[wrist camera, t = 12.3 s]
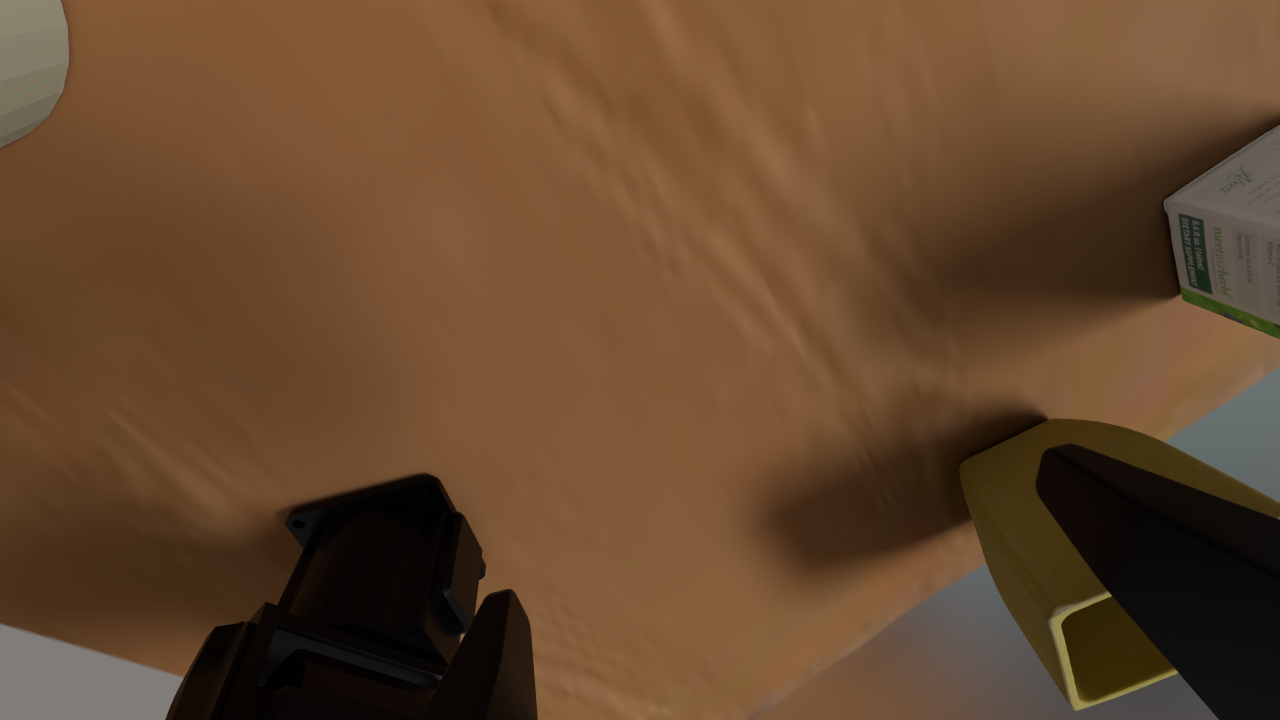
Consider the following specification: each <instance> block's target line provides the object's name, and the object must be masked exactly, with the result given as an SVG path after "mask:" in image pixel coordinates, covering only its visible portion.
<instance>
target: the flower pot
mask: <svg viewBox="0 0 1280 720" xmlns="http://www.w3.org/2000/svg"><path fill="white" fill-rule="evenodd" d="M1067 443H1072V444H1076V445H1080V446H1082V447H1085V448H1088V449H1091V450H1093V451H1096V452H1099V453H1101V454H1104V455H1107V456H1109V457H1112V458H1115V459H1118V460H1120V461H1123V462H1126V463H1128V464H1131V465H1134V466H1137V467H1139V468H1142V469H1145V470H1147V471H1150V472H1153V473H1156V474H1158V475H1161V476H1164V477H1166V478H1169V479H1172V480H1175V481H1177V482H1180V483H1183V484H1185V485H1188V486H1191V487H1194V488H1196V489H1199V490H1202V491H1204V492H1207V493H1210V494H1213V495H1215V496H1218V497H1221V498H1223V499H1226V500H1229V501H1231V502H1234V503H1237V504H1240V505H1242V506H1245V507H1248V508H1250V509H1253V510H1256V511H1259V512H1261V513H1264V514H1267V515H1269V516H1272V517H1275V518H1278V519H1280V503H1279V502H1277V501H1275V500H1274V499H1272V498H1270V497H1268V496H1266V495H1264V494H1262V493H1261V492H1259V491H1257V490H1255V489H1253V488H1251V487H1249V486H1248V485H1246V484H1244V483H1242V482H1240V481H1238V480H1236V479H1234V478H1233V477H1230V476H1229V475H1226V474H1225V473H1223V472H1221V471H1219V470H1217V469H1215V468H1213V467H1211V466H1210V465H1208V464H1206V463H1204V462H1202V461H1200V460H1198V459H1196V458H1194V457H1192V456H1190V455H1188V454H1186V453H1185V452H1183V451H1181V450H1179V449H1176V448H1175V447H1173V446H1170V445H1169V444H1167V443H1165V442H1163V441H1160V440H1158V439H1156V438H1153V437H1151V436H1149V435H1146V434H1143V433H1140V432H1137V431H1134V430H1131V429H1128V428H1124V427H1121V426H1117V425H1112V424H1107V423H1101V422H1095V421H1087V420H1076V419H1050V420H1048V421H1045V422H1043V423H1041V424H1039V425H1037V426H1035V427H1033V428H1031V429H1029V430H1027V431H1025V432H1023V433H1021V434H1019V435H1016V436H1014V437H1012V438H1010V439H1008V440H1006V441H1004V442H1002V443H1000V444H997V445H995V446H993V447H991V448H989V449H987V450H985V451H983V452H980V453H978V454H976V455H974V456H972V457H970V458H968V459H966V460H964V461H963V462H962V463H961V465H960V468H959V474H960V481H961V486H962V490H963V494H964V497H965V500H966V503H967V506H968V508H969V511H970V514H971V517H972V520H973V523H974V525H975V528H976V531H977V534H978V538H979V541H980V544H981V547H982V550H983V554H984V557H985V560H986V563H987V565H988V568H989V571H990V573H991V575H992V578H993V580H994V582H995V585H996V587H997V589H998V591H999V593H1000V595H1001V597H1002V599H1003V601H1004V603H1005V605H1006V606H1007V608H1008V610H1009V611H1010V613H1011V615H1012V616H1013V618H1014V619H1015V621H1016V623H1017V624H1018V626H1019V627H1020V629H1021V630H1022V632H1023V634H1024V635H1025V637H1026V638H1027V640H1028V641H1029V643H1030V644H1031V646H1032V647H1033V649H1034V651H1035V652H1036V653H1037V655H1038V657H1039V658H1040V660H1041V662H1042V663H1043V665H1044V666H1045V668H1046V670H1047V671H1048V673H1049V674H1050V676H1051V677H1052V679H1053V680H1054V682H1055V684H1056V685H1057V687H1058V688H1059V690H1060V692H1061V693H1062V695H1063V696H1064V698H1065V699H1066V701H1067V702H1068V704H1069V705H1070V707H1071V708H1072V709H1074V710H1076V711H1077V710H1080V709H1083V708H1086V707H1089V706H1092V705H1096V704H1098V703H1101V702H1104V701H1107V700H1110V699H1113V698H1115V697H1118V696H1121V695H1124V694H1126V693H1128V692H1131V691H1133V690H1136V689H1139V688H1141V687H1144V686H1147V685H1149V684H1152V683H1154V682H1157V681H1159V680H1162V679H1164V678H1167V677H1169V676H1172V675H1174V674H1177V673H1178V672H1177V671H1176V669H1175V668H1174V667H1173V666H1172V665H1171V664H1170V662H1169V661H1168V660H1167V659H1166V658H1165V657H1164V656H1163V654H1162V653H1161V652H1160V651H1159V650H1158V649H1157V647H1156V646H1155V645H1154V644H1153V643H1152V642H1151V641H1150V639H1149V638H1148V637H1147V636H1146V635H1145V634H1144V632H1143V631H1142V630H1141V629H1140V628H1139V627H1138V626H1137V624H1136V623H1135V622H1134V621H1133V620H1132V619H1131V617H1130V616H1129V615H1128V614H1127V613H1126V612H1125V610H1124V609H1123V608H1122V607H1121V606H1120V605H1119V604H1118V602H1117V601H1116V600H1115V599H1114V598H1113V597H1112V595H1111V594H1110V593H1109V592H1108V591H1107V590H1106V588H1105V587H1104V586H1103V585H1102V583H1101V582H1100V581H1099V580H1098V578H1097V577H1096V576H1095V575H1094V573H1093V572H1092V571H1091V569H1090V568H1089V567H1088V565H1087V564H1086V562H1085V561H1084V560H1083V558H1082V557H1081V556H1080V554H1079V553H1078V551H1077V550H1076V549H1075V547H1074V546H1073V544H1072V543H1071V542H1070V540H1069V539H1068V537H1067V536H1066V535H1065V533H1064V532H1063V530H1062V529H1061V528H1060V526H1059V525H1058V523H1057V522H1056V521H1055V519H1054V518H1053V516H1052V515H1051V514H1050V512H1049V511H1048V509H1047V508H1046V507H1045V505H1044V504H1043V502H1042V501H1041V500H1040V498H1039V496H1038V494H1037V491H1036V488H1035V481H1036V477H1037V473H1038V468H1039V464H1040V460H1041V456H1042V453H1043V452H1044V451H1045V450H1046V449H1047V448H1050V447H1054V446H1058V445H1062V444H1067Z"/></svg>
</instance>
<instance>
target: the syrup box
mask: <svg viewBox="0 0 1280 720" xmlns="http://www.w3.org/2000/svg"><path fill="white" fill-rule="evenodd" d="M1164 209H1165V212H1166V213H1167V214H1168V217H1169V225H1170V229H1171V240H1172V246H1173V251H1174V256H1175V261H1176V267H1177V272H1178V278H1179V283H1180V287H1181V294H1182V298H1183V300H1184V301H1186V302H1188V303H1191V304H1193V305H1196V306H1198V307H1201V308H1204V309H1206V310H1209V311H1211V312H1214V313H1216V314H1219V315H1221V316H1224V317H1226V318H1228V319H1231V320H1234V321H1236V322H1239V323H1241V324H1243V325H1246V326H1248V327H1251V328H1254V329H1256V330H1258V331H1261V332H1264V333H1266V334H1268V335H1271V336H1273V337H1276V338H1279V339H1280V125H1278V126H1277V127H1275V128H1273V129H1272V130H1270V131H1268V132H1267V133H1265V134H1263V135H1262V136H1260V137H1259V138H1257V139H1256V140H1254V141H1252V142H1251V143H1249V144H1248V145H1246V146H1245V147H1243V148H1242V149H1240V150H1239V151H1237V152H1235V153H1234V154H1232V155H1231V156H1229V157H1228V158H1226V159H1225V160H1224V161H1222V162H1220V163H1219V164H1217V165H1216V166H1214V167H1213V168H1211V169H1210V170H1208V171H1207V172H1205V173H1204V174H1202V175H1201V176H1199V177H1198V178H1196V179H1195V180H1193V181H1192V182H1190V183H1189V184H1187V185H1186V186H1184V187H1183V188H1181V189H1180V190H1178V191H1177V192H1175V193H1174V194H1173V195H1171V196H1170V197H1168V198H1166V199H1165V200H1164Z"/></svg>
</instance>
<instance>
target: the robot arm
mask: <svg viewBox="0 0 1280 720" xmlns="http://www.w3.org/2000/svg"><path fill="white" fill-rule="evenodd" d="M426 486H429V487H432V489H427V488H425V487H426ZM1035 488H1036V491H1037V494H1038V496H1039V498H1040V500H1041V501H1042V502H1043V504H1044V505H1045V507H1046V508H1047V509H1048V511H1049V512H1050V514H1051V515H1052V516H1053V518H1054V519H1055V521H1056V522H1057V523H1058V525H1059V526H1060V528H1061V529H1062V530H1063V532H1064V533H1065V535H1066V536H1067V537H1068V539H1069V540H1070V542H1071V543H1072V544H1073V546H1074V547H1075V549H1076V550H1077V551H1078V553H1079V554H1080V556H1081V557H1082V558H1083V560H1084V561H1085V562H1086V564H1087V565H1088V567H1089V568H1090V569H1091V571H1092V572H1093V573H1094V575H1095V576H1096V577H1097V578H1098V580H1099V581H1100V582H1101V583H1102V585H1103V586H1104V587H1105V588H1106V590H1107V591H1108V592H1109V593H1110V594H1111V595H1112V597H1113V598H1114V599H1115V600H1116V601H1117V602H1118V604H1119V605H1120V606H1121V607H1122V608H1123V609H1124V610H1125V612H1126V613H1127V614H1128V615H1129V616H1130V617H1131V619H1132V620H1133V621H1134V622H1135V623H1136V624H1137V626H1138V627H1139V628H1140V629H1141V630H1142V631H1143V632H1144V634H1145V635H1146V636H1147V637H1148V638H1149V639H1150V641H1151V642H1152V643H1153V644H1154V645H1155V646H1156V647H1157V649H1158V650H1159V651H1160V652H1161V653H1162V654H1163V656H1164V657H1165V658H1166V659H1167V660H1168V661H1169V662H1170V664H1171V665H1172V666H1173V667H1174V668H1175V669H1176V671H1177V672H1178V673H1179V674H1180V675H1181V676H1182V677H1183V679H1184V680H1185V681H1186V682H1187V683H1188V684H1189V686H1190V687H1191V688H1192V689H1193V690H1194V691H1195V692H1196V693H1197V695H1198V696H1199V697H1200V698H1201V699H1202V701H1203V702H1204V703H1205V704H1206V705H1207V706H1208V707H1209V709H1210V710H1211V711H1212V712H1213V713H1214V714H1215V716H1216V717H1217V718H1218V719H1219V720H1280V519H1278V518H1275V517H1272V516H1269V515H1267V514H1264V513H1261V512H1259V511H1256V510H1253V509H1250V508H1248V507H1245V506H1242V505H1240V504H1237V503H1234V502H1231V501H1229V500H1226V499H1223V498H1221V497H1218V496H1215V495H1213V494H1210V493H1207V492H1204V491H1202V490H1199V489H1196V488H1194V487H1191V486H1188V485H1185V484H1183V483H1180V482H1177V481H1175V480H1172V479H1169V478H1166V477H1164V476H1161V475H1158V474H1156V473H1153V472H1150V471H1147V470H1145V469H1142V468H1139V467H1137V466H1134V465H1131V464H1128V463H1126V462H1123V461H1120V460H1118V459H1115V458H1112V457H1109V456H1107V455H1104V454H1101V453H1099V452H1096V451H1093V450H1091V449H1088V448H1085V447H1082V446H1080V445H1076V444H1072V443H1067V444H1062V445H1058V446H1054V447H1050V448H1047V449H1046V450H1045V451H1044V452H1043V453H1042V456H1041V460H1040V464H1039V468H1038V473H1037V477H1036V481H1035ZM299 520H302V521H299ZM285 524H286V526H287V528H288V529H289V530H290V532H291V533H292V534H293V536H294V537H295V538H296V539H297V541H298V542H299V543H300V544H301V546H302V547H303V548H304V550H303V552H302V554H301V556H300V558H299V560H298V562H297V565H296V567H295V569H294V571H293V573H292V575H291V577H290V580H289V582H288V584H287V586H286V588H285V590H284V592H283V594H282V597H281V599H280V601H279V603H278V605H274V604H271V603H268V602H265V603H264V604H263V605H262V607H261V608H260V609H259V610H258V611H257V612H256V614H255V615H254V616H253V617H252V618H251V619H250V621H247V622H242V621H241V622H240V623H237V624H231V625H224V626H217V627H215V628H214V629H213V630H212V631H211V633H210V634H209V635H208V636H207V638H206V639H205V641H204V643H203V645H202V647H201V648H200V650H199V652H198V654H197V656H196V657H195V659H194V661H193V663H192V664H191V666H190V668H189V670H188V672H187V673H186V675H185V677H184V679H183V681H182V683H181V685H180V687H179V689H178V691H177V693H176V695H175V697H174V699H173V701H172V704H171V706H170V709H169V711H168V714H167V717H166V719H165V720H538V718H537V704H536V691H535V677H534V664H533V651H532V638H531V628H530V623H529V619H528V617H527V615H526V613H525V611H524V609H523V607H522V605H521V603H520V601H519V599H518V597H517V595H516V593H515V592H514V591H513V590H512V589H505V590H501V591H498V592H494V593H491V594H489V595H487V596H486V597H485V599H484V600H483V602H482V604H481V606H480V608H479V610H478V611H477V613H476V615H475V608H476V600H477V591H478V583H479V580H480V579H482V578H483V577H484V576H485V571H486V565H485V563H484V561H483V559H482V549H481V547H480V545H479V543H478V541H477V539H476V537H475V535H474V534H473V532H472V530H471V528H470V526H469V524H468V522H467V520H466V519H465V517H464V515H463V514H461V513H460V512H457V511H456V509H455V507H454V505H453V503H452V501H451V500H450V498H449V496H448V494H447V492H446V490H445V488H444V487H443V485H442V483H441V481H440V480H439V479H438V478H436V477H434V476H430V475H428V476H422V477H418V478H414V479H410V480H407V481H403V482H399V483H395V484H391V485H387V486H383V487H379V488H375V489H371V490H368V491H364V492H360V493H356V494H352V495H348V496H344V497H340V498H336V499H332V500H329V501H325V502H321V503H317V504H313V505H309V506H305V507H301V508H297V509H295V510H292V511H291V512H290V514H289V516H288V517H287V519H286V523H285ZM474 616H475V617H474ZM465 633H466V634H465ZM461 634H465V636H464V637H463V639H462V641H461V643H460V637H461ZM459 644H460V645H459Z"/></svg>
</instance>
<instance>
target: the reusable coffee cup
mask: <svg viewBox="0 0 1280 720" xmlns="http://www.w3.org/2000/svg"><path fill="white" fill-rule="evenodd" d="M68 65H69V46H68V27H67V23H66V19H65V15H64V11H63V7H62V3H61V0H0V148H1V147H3V146H5V145H7V144H9V143H11V142H13V141H15V140H17V139H19V138H22V137H24V136H26V135H28V134H30V133H31V132H32V131H33V130H34V129H35V128H36V127H37V126H38V125H39V124H41V123H42V122H43V121H44V120H45V119H46V118H47V117H48V116H49V115H50V114H51V112H52V110H53V108H54V106H55V105H56V103H57V101H58V99H59V97H60V96H61V94H62V92H63V89H64V84H65V79H66V74H67V70H68Z"/></svg>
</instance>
